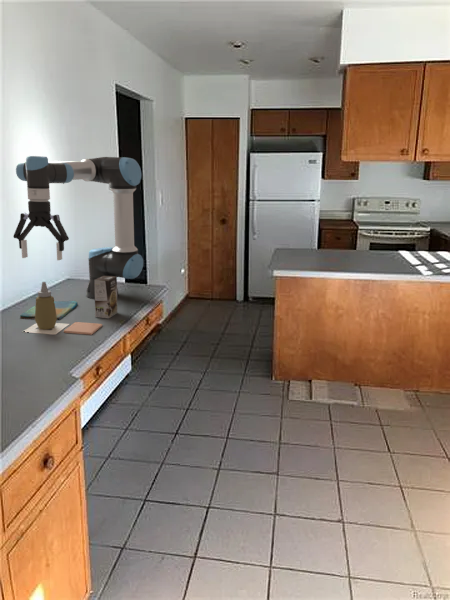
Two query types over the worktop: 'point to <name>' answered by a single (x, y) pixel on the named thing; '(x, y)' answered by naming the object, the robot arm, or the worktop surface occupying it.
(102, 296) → the coffee box
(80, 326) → the coaster pad
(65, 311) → the dish towel
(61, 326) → the white flat square slab
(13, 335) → the worktop surface
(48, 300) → the squeeze bottle
